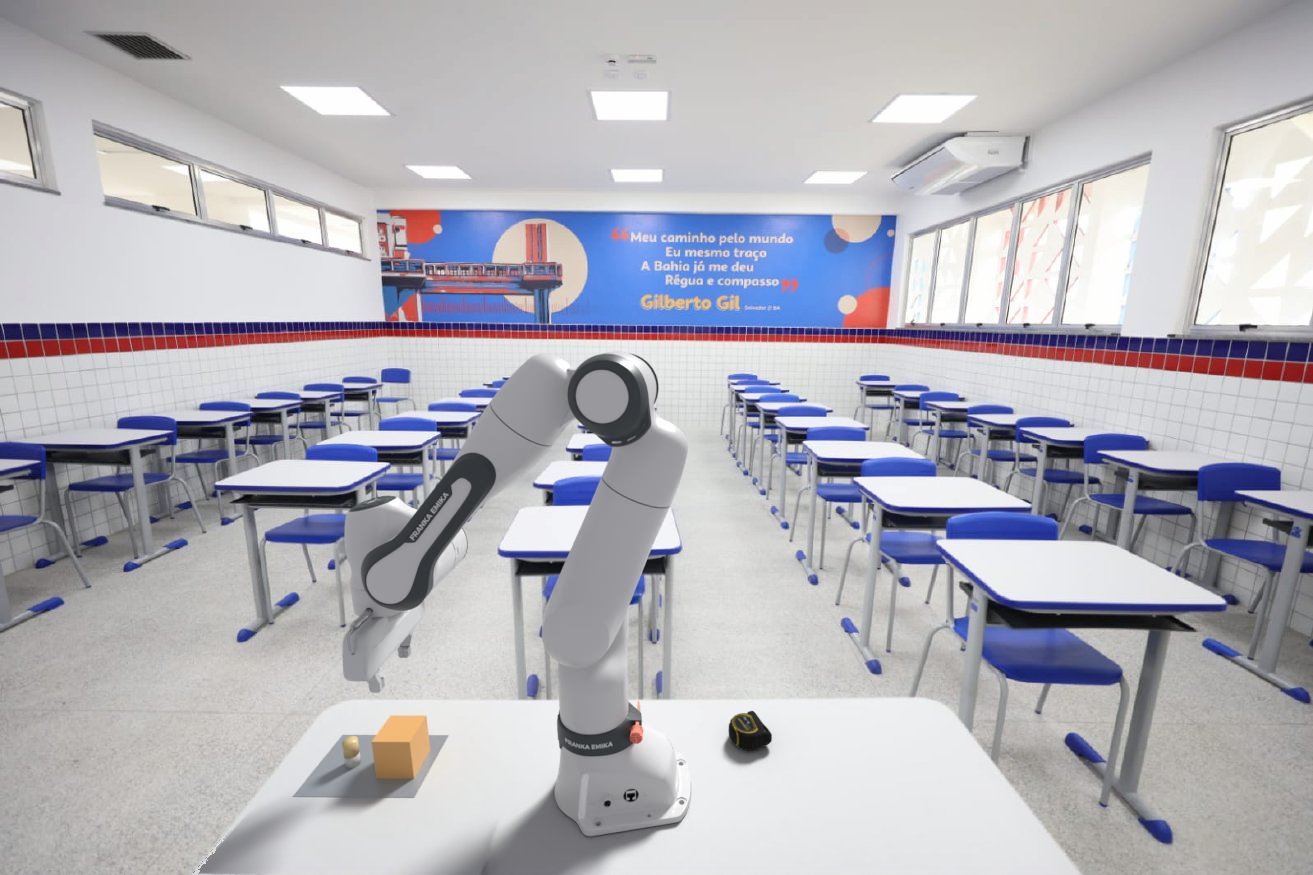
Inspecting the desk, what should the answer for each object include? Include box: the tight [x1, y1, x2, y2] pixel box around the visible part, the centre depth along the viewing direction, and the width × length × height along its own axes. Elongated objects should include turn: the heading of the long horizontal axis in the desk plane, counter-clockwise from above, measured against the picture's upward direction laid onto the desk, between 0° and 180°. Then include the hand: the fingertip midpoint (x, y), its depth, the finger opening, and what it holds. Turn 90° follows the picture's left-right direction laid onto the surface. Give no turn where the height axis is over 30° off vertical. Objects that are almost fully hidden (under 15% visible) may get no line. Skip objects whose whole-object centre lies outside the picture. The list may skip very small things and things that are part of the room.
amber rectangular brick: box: [372, 714, 430, 779], centre depth 97 cm, size 6×6×7 cm
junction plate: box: [292, 734, 449, 799], centre depth 97 cm, size 20×14×6 cm
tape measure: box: [728, 710, 773, 751], centre depth 103 cm, size 7×7×4 cm
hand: (392, 671), depth 94 cm, fingers open, 8 cm apart
